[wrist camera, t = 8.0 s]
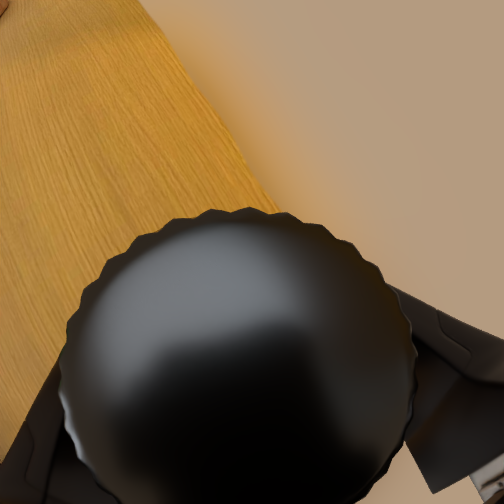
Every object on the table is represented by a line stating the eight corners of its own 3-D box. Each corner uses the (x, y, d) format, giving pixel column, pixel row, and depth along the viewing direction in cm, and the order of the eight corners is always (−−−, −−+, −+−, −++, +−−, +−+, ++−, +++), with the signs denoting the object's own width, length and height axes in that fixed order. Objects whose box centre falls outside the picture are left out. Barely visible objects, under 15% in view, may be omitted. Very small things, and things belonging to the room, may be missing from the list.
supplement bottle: (314, 336, 16) (517, 377, 4) (212, 427, 14) (238, 625, 3) (222, 233, 16) (268, 57, 4) (117, 324, 14) (-69, 352, 3)
